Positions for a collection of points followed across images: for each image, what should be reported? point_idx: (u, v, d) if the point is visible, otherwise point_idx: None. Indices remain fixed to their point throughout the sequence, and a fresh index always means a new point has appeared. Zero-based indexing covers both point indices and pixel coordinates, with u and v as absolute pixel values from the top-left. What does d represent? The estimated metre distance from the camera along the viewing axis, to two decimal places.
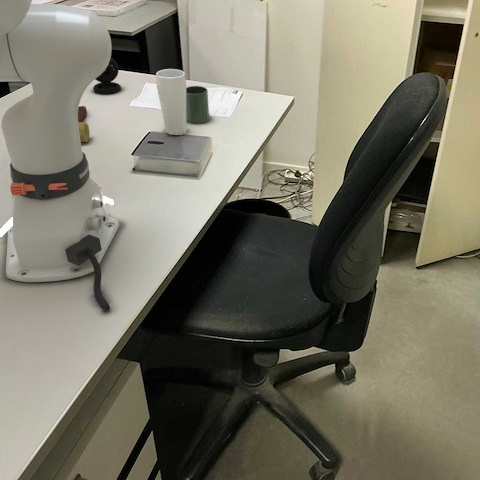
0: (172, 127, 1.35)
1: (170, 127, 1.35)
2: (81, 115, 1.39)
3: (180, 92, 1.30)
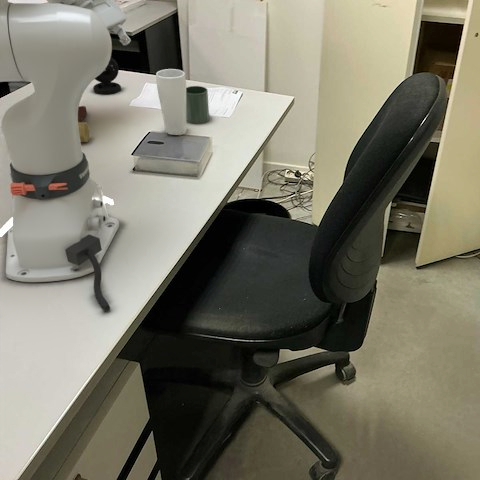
0: (172, 127, 1.35)
1: (170, 127, 1.35)
2: (81, 115, 1.39)
3: (180, 92, 1.30)
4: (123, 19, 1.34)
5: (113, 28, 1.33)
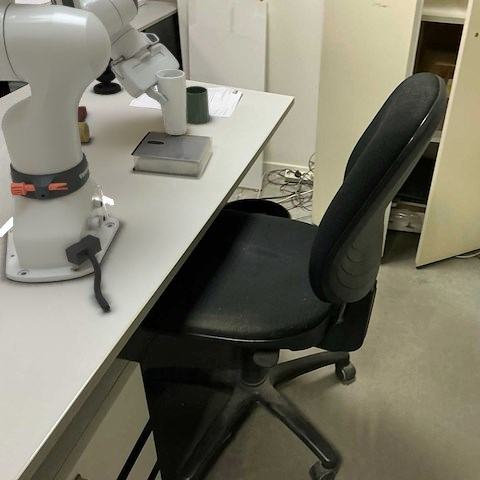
0: (172, 127, 1.35)
1: (170, 127, 1.35)
2: (81, 115, 1.39)
3: (180, 92, 1.30)
4: (177, 67, 1.37)
5: None
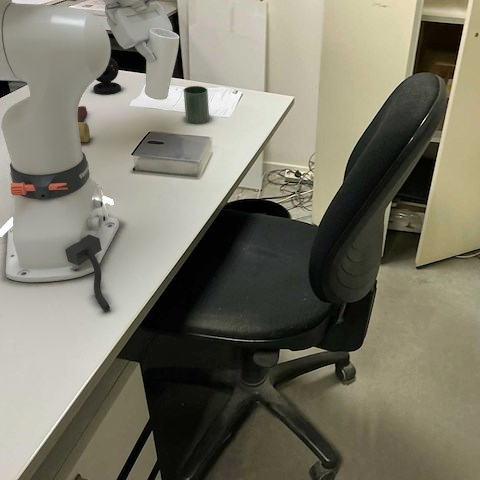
0: (154, 89, 1.28)
1: (152, 89, 1.28)
2: (81, 115, 1.39)
3: (171, 54, 1.25)
4: (170, 30, 1.32)
5: None
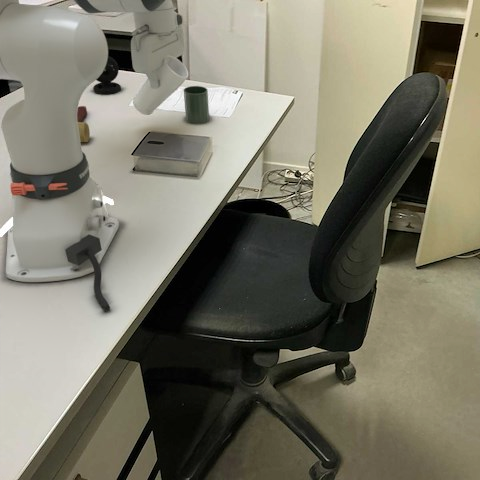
0: (144, 106, 1.32)
1: (141, 104, 1.32)
2: (81, 115, 1.39)
3: (174, 88, 1.29)
4: (180, 55, 1.35)
5: None
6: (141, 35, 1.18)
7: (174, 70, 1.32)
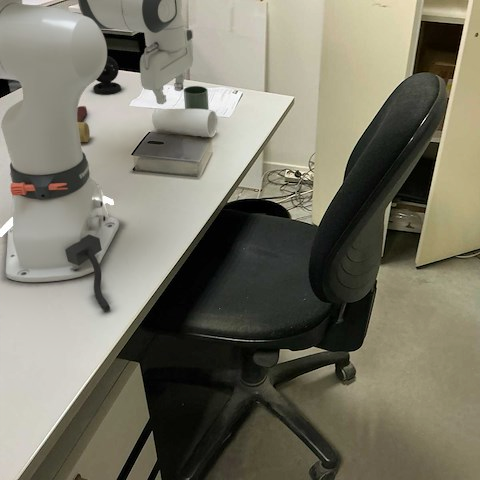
0: (160, 124, 1.36)
1: (160, 122, 1.35)
2: (81, 115, 1.39)
3: None
4: (189, 67, 1.37)
5: None
6: (150, 54, 1.20)
7: None
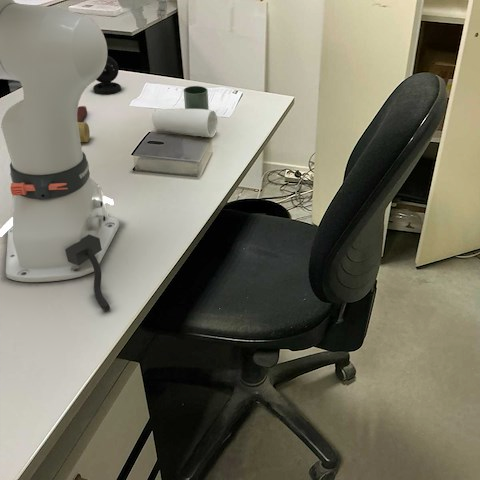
0: (160, 125, 1.36)
1: (160, 122, 1.35)
2: (81, 115, 1.39)
3: None
4: None
5: None
6: None
7: None
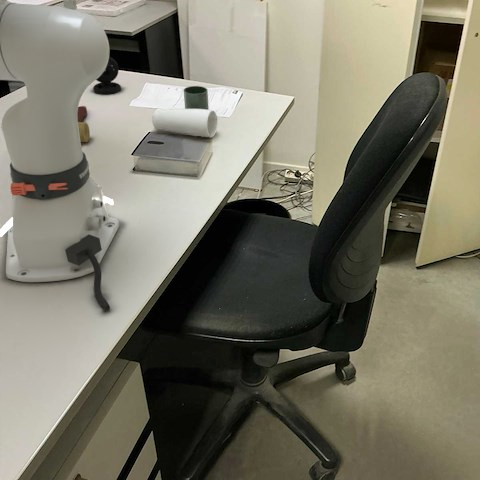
0: (160, 125, 1.36)
1: (160, 122, 1.35)
2: (81, 115, 1.39)
3: None
4: None
5: None
6: None
7: None
